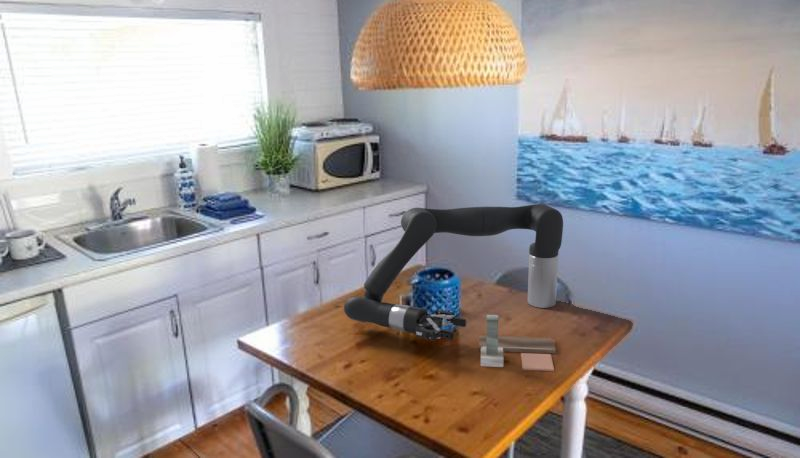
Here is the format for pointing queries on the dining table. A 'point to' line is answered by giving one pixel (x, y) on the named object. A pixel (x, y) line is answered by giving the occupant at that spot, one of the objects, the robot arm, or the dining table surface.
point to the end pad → (537, 362)
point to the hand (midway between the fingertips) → (460, 329)
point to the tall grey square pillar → (492, 345)
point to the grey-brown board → (522, 344)
